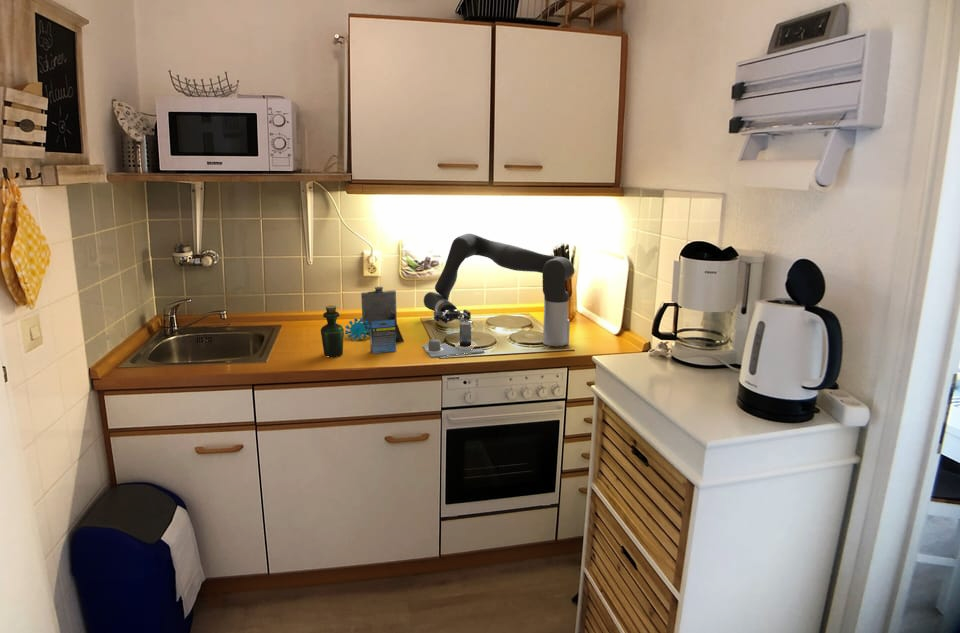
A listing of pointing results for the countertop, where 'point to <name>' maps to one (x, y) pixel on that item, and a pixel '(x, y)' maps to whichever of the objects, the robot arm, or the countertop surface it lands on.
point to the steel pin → (465, 332)
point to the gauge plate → (447, 349)
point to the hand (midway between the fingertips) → (457, 320)
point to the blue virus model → (358, 329)
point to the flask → (377, 305)
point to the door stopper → (397, 331)
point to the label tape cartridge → (383, 336)
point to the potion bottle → (332, 333)
